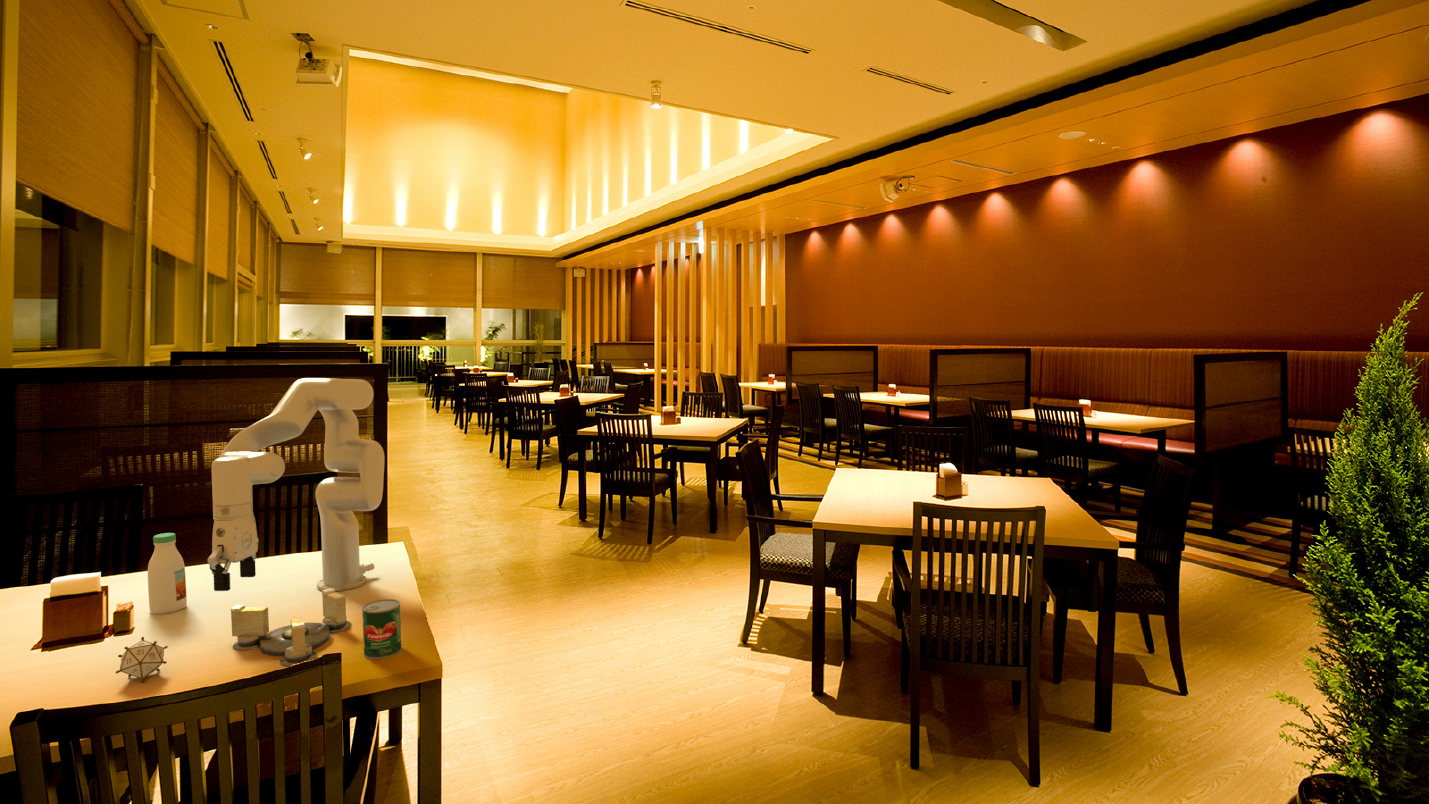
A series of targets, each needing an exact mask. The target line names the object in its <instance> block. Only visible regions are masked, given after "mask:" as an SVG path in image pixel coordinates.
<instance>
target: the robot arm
mask: <svg viewBox="0 0 1429 804" xmlns="http://www.w3.org/2000/svg"><path fill="white" fill-rule="evenodd" d="M374 394H375V393H374V389H373V387H372V385H371V384H370V383H369V382H368V381H367V380H365V379H362V378H361V379H358V378H357V379H354V378H334V377H333V378H331V377H330V378H329V377H328V378H327V377H304V378H300V379H297V380H295V381H294V382H293V383H292V384H291V385H290V386H289V388H288V390H287V391H286V392H285V394H284V395H283V396H282V398H281V399H280V400H279V401H278V403H277V405H276V406H275V407H274V408H273V410H272V411H271V413H270V414H269V415H268V416H266V417H264V418H262V419H260V420H258V421H256V422H255V423H252V424H251V425H250V426H248V427H246V428H244V429H242V430H241V431H239V432H238V433H237V434H235V435H234V436H233V437H232V438H231V439H230V441H229V442H228V443H227V444H226V446H225V447H224V448H223V450H222V451H221V453H220V454H219V456H218V458H216V459H214V460H213V462H211V487H212V489H211V491H212V517H213V518H212V519H213V526H212V527H213V528H212V538H211V539H212V540H211V541H212V542H211V546H212V548H211V551H212V552H211V554H210V555H209V556H208V558H207V561H206V562H207V563H208V565H209V570H211V575H213V590H214V591H215V592H228V591H230V590H231V573H230V572H229V570H230V566H231V565H232V564H233V563H234V564H235V563H239V574H240V575H239V577H240V578H255V577H256V559H257V552H258V549H259V537H258V530H257V524H256V523H257V522H256V518H255V515H254V510H253V509H254V506H253V485H260V484H262V485H263V484H271V483H274V482H276V481H277V480H279V479H280V478H281V477H282V476H283V475H284V473H285V470H286V464H285V460H284V458H283V457H282V456H281V455H279V454H277V453H275V452H271V451H260V450H263V449H264V448H268V447H269V446H272V445H276V444H280V443H283V442H286V441H289V440H292V439H294V438H297V437H299V436H300V435H302V434H303V433H304V431H305V429H306V428H307V427H308V425H309V424H310V422H311V421H312V419H313V417H314V416H315V415H316V413H317V412H318V411H319V412H320V414H321V416H322V418H323V420H324V424H325V431H324V432H325V433H324V438H325V439H324V449H323V450H324V451H323V452H324V453H323V458H324V459H323V462H324V466H325V468H326V469H327V470H328V471H330V472H335V473H353V474H354V473H355V474H359V476H360V477H355V476H354V477H351V476H333V477H332V476H331V477H328V478H324V479H322V481H320V482H319V483H318V485H317V487H316V489H315V500H316V504H317V509H318V512H319V517H320V529H321V530H320V532H321V533H320V535H321V561H322V562H321V564H322V579H320V580H319V581H318V582H317V583H316V588H317V589H318V590H319V591H322V590H326V589H329V588H333V589H335V592H343V591H347V590H352V589H355V588H358V587H360V586H362V585H365V583H366V582H367V577H366V576H365V575H364V574H366V572H370V571H373V570H374V569H375V564H374V563H373V562H372V563H368V564H366V565H365V564H363V563H362V564H360V562H361V561H360V541H359V540H360V534H359V522H358V519H357V517H356V515H355V513H354V512H370V511H374V510H376V509H378V507H380V505H381V502H382V500H383V492H384V481H385V480H384V479H385V478H384V475H385V474H384V473H385V452H384V448H383V447H382V446H381V444H380V443H379V442H378V441H376V440H371V439H359V438H360V437H359V432H360V431H359V421H358V417H357V415H356V414H355V413H354V410H364V409H367V408H368V407H369V406H370V405H371V403H372V402H373V400H374ZM222 565H223V566H222Z"/></svg>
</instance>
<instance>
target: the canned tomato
mask: <svg viewBox="0 0 1429 804" xmlns="http://www.w3.org/2000/svg"><path fill="white" fill-rule="evenodd" d="M361 610H362V614H361V616H362V633H363V634H362V637H363V639H362V640H363V642H362V643H363V656H364V657H365V658H367V659H370V660H381V659H387V658H390V657H393V656H395V655H397V654H398V653H400V652H401V651H402V649H403V648H402V627H401V626H402V625H401V624H402V623H401V622H402V620H401V602H400V601H399V600H397V599H392V598H384V599H383V598H382V599H376V600H373V601H370V602H367V603H365V604H363V606H362V607H361Z"/></svg>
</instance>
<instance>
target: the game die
mask: <svg viewBox="0 0 1429 804" xmlns="http://www.w3.org/2000/svg"><path fill="white" fill-rule="evenodd" d="M157 643H158V642H157V640H156V641H153V643H152V642H149V641H147V640H145V637H144V636H141V640H140V641H139V642H137V643H135V644H133V645H131V646H130V647H129V646H124V650H125V651H124V653H123V654H118V655H117V657H118V658H120V665H119V669H118V670H116V671H115V674H119V673H124V674H127V675H128V676H127V677H128V679H129V678H131V677H134V678H137V679H140V683H143V682H144V681H145V680H144V679H145V678H146V677H147V676H149V675H151V674H152V673H153V672H161V671H160V670H161V669H160V666H161V665H162V664H164V665H166V664H167V663H168V662H167V660H166V661H165V660H164V657H165V654H164V653H165V650H166V649H168V647H169V646H168V645H165V646H164V647H162V646H160V645H158V644H157Z"/></svg>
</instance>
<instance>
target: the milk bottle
mask: <svg viewBox="0 0 1429 804" xmlns="http://www.w3.org/2000/svg"><path fill="white" fill-rule="evenodd" d="M152 539H153V540H152V541H153V546H154V551H153V553H152V556H151V558H150V559H149V561H148V565H147V588H148V605H149V612H150V613H151V614H154V615H164V614H170V613H174V612H177V611H181V610H183V609H184V608H186V606H187V605H188V604H187V603H188V602H187V600H188V599H187V598H188V597H187V582H186V567H185V563H184V559H183V557H182V555H181V554H180V552H179V550H178V549H177V546H176V542H177V540H176V539H177V537H176V533H174V532H164V533H160V534H155V535H154V536H153V537H152Z"/></svg>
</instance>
